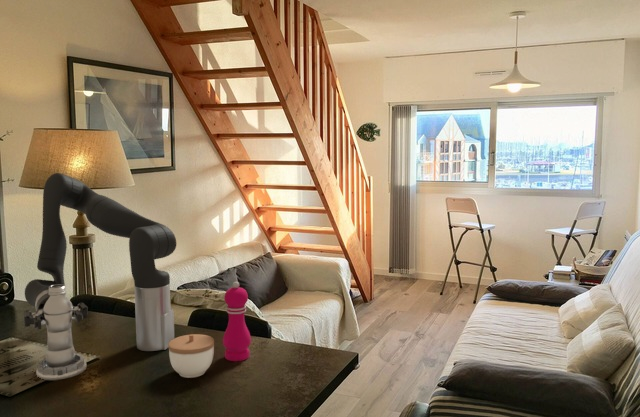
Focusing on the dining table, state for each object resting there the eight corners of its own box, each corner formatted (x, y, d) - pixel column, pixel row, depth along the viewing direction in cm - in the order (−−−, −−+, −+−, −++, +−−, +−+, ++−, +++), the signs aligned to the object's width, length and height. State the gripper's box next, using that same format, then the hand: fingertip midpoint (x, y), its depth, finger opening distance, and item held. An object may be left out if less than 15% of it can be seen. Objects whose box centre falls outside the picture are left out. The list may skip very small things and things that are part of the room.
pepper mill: (248, 362, 134) (247, 285, 132) (220, 362, 134) (218, 285, 132) (253, 351, 141) (252, 278, 139) (226, 351, 141) (224, 278, 139)
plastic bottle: (46, 374, 124) (41, 291, 122) (46, 364, 130) (41, 284, 128) (76, 369, 127) (72, 287, 125) (75, 359, 133) (71, 281, 131)
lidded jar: (198, 385, 121) (197, 345, 120) (159, 378, 125) (158, 339, 124) (223, 367, 131) (222, 330, 130) (186, 361, 135) (185, 325, 134)
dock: (95, 362, 134) (94, 353, 133) (69, 381, 123) (68, 371, 123) (55, 360, 135) (54, 351, 135) (25, 378, 124) (25, 368, 124)
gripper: (20, 295, 136) (24, 311, 123) (80, 288, 144) (90, 302, 130) (22, 324, 137) (26, 342, 124) (81, 315, 145) (92, 331, 131)
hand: (59, 321), depth 127 cm, fingers open, 8 cm apart
